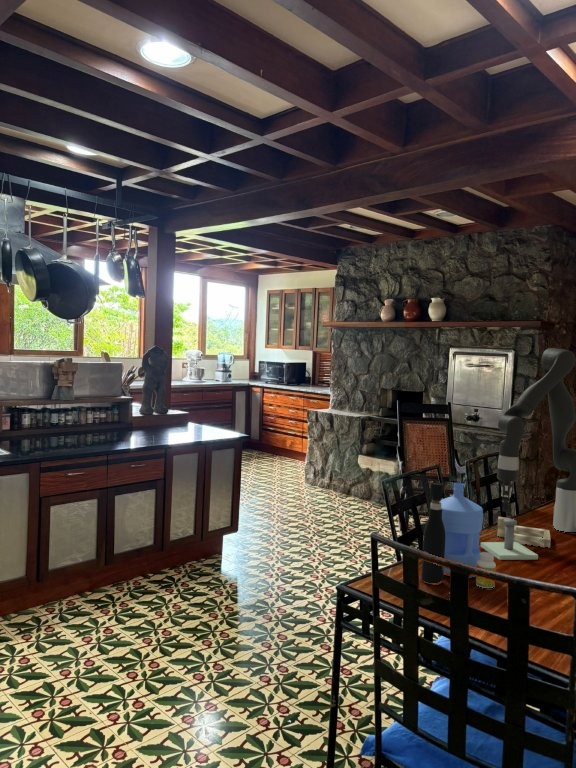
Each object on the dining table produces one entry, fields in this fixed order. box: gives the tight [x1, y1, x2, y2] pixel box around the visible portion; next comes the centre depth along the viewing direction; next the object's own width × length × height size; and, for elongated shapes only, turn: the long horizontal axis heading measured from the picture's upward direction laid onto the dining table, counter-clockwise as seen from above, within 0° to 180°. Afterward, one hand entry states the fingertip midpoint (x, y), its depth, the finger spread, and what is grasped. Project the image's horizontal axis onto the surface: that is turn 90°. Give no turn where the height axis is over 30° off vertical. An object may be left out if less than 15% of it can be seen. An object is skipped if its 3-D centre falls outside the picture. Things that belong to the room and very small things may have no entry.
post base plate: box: [480, 518, 539, 561], centre depth 207 cm, size 14×14×12 cm
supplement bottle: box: [475, 551, 497, 589], centre depth 175 cm, size 5×5×10 cm
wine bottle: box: [420, 481, 445, 583], centre depth 177 cm, size 6×6×30 cm
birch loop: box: [496, 516, 551, 549], centre depth 224 cm, size 18×14×7 cm
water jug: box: [440, 482, 484, 579], centre depth 187 cm, size 16×16×28 cm
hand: (505, 509), depth 226 cm, fingers open, 8 cm apart
